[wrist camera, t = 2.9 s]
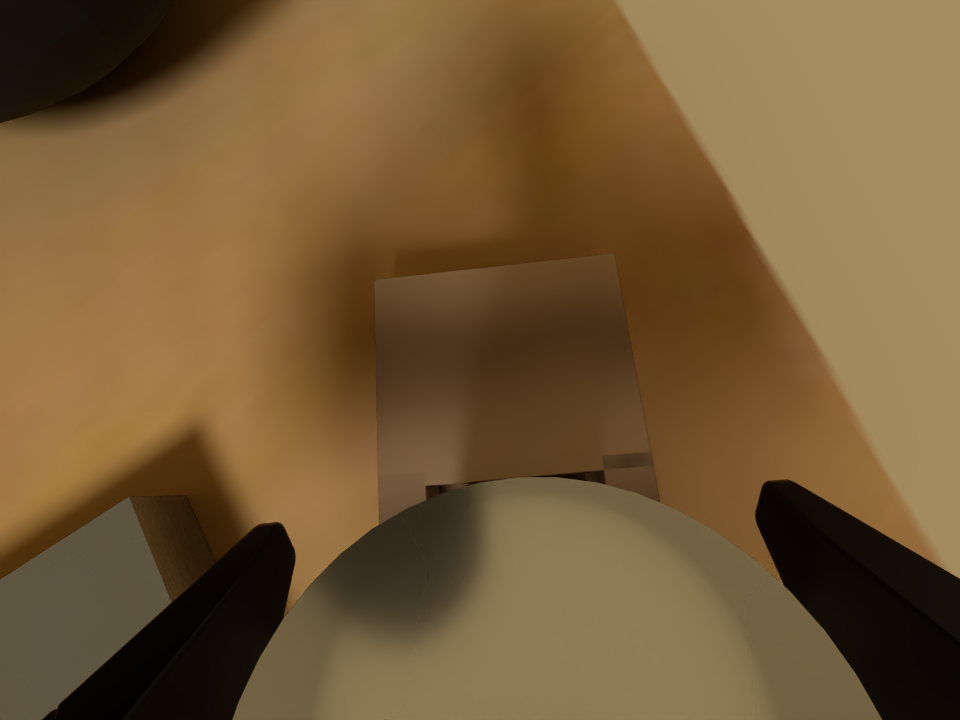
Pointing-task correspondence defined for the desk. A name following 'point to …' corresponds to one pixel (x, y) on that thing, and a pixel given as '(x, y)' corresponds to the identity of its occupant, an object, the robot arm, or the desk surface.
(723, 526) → the desk surface
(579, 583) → the steel axle
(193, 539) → the block
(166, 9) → the sphere
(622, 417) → the wooden block with hole
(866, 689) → the robot arm
